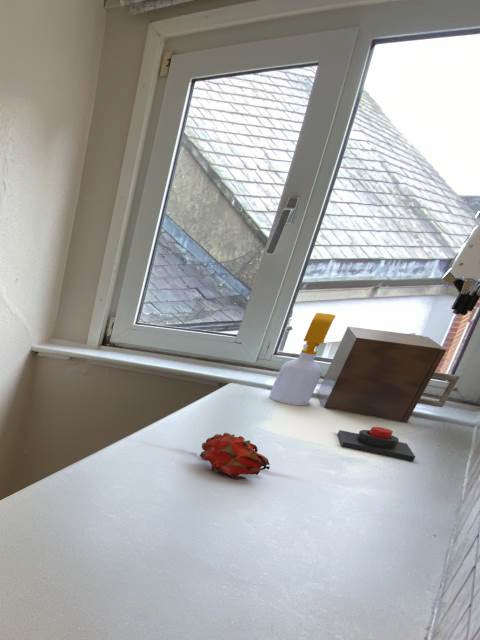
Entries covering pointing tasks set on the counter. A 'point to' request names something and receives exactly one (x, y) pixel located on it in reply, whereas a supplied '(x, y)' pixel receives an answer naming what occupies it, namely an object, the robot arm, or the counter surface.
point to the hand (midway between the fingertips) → (459, 313)
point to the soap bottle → (302, 367)
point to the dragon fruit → (233, 455)
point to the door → (428, 377)
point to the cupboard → (377, 372)
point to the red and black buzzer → (375, 445)
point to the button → (381, 432)
